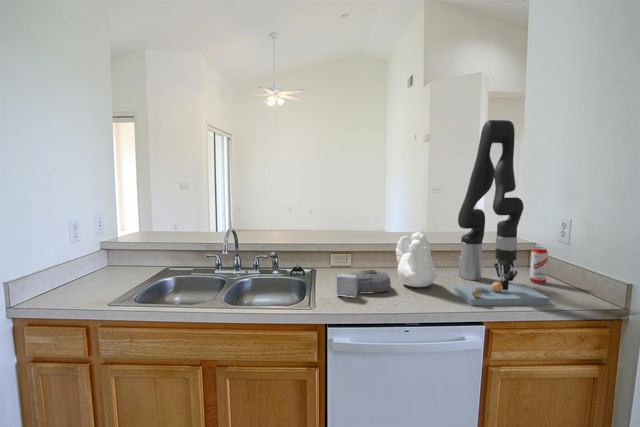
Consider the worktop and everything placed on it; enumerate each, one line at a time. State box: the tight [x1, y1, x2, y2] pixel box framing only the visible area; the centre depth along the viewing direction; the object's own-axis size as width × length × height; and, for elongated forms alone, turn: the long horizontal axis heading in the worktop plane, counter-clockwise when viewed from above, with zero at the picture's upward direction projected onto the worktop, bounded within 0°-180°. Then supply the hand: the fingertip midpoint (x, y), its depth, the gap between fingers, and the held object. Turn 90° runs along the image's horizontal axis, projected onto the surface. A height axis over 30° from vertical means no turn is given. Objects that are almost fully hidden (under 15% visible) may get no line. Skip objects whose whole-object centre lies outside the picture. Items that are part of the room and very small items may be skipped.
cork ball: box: [472, 289, 482, 298], centre depth 131 cm, size 4×4×4 cm
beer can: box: [529, 246, 549, 285], centre depth 155 cm, size 6×6×16 cm
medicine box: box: [336, 273, 358, 297], centre depth 142 cm, size 8×4×9 cm, turn 71°
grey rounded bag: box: [349, 269, 392, 293], centre depth 151 cm, size 15×8×20 cm
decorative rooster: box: [395, 231, 438, 288], centre depth 157 cm, size 25×16×25 cm, turn 6°
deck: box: [453, 283, 550, 306], centre depth 138 cm, size 30×16×2 cm, turn 90°
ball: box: [491, 281, 503, 292], centre depth 137 cm, size 4×4×4 cm
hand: (504, 289), depth 138 cm, fingers closed
